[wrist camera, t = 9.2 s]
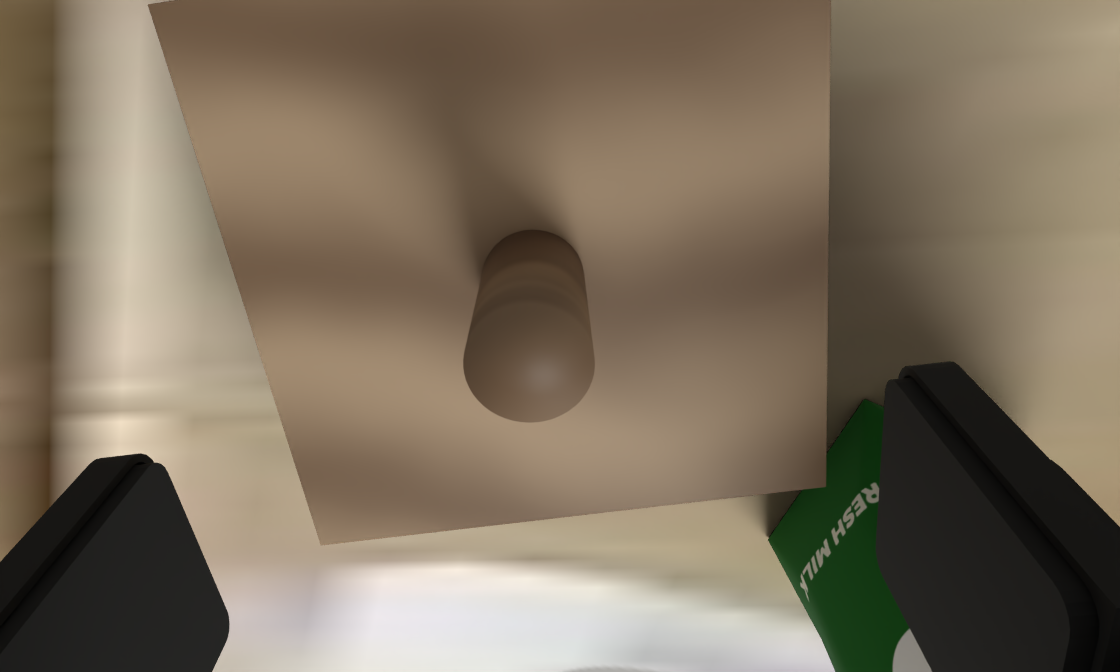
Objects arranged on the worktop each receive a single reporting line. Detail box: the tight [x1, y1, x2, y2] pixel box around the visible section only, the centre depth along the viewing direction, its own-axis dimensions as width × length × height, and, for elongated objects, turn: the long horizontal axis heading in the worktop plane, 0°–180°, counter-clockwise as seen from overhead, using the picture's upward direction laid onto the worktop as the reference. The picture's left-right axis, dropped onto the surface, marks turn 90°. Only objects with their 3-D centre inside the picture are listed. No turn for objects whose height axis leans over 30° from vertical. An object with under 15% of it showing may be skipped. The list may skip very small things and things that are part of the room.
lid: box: [148, 0, 831, 545], centre depth 18 cm, size 15×15×6 cm
